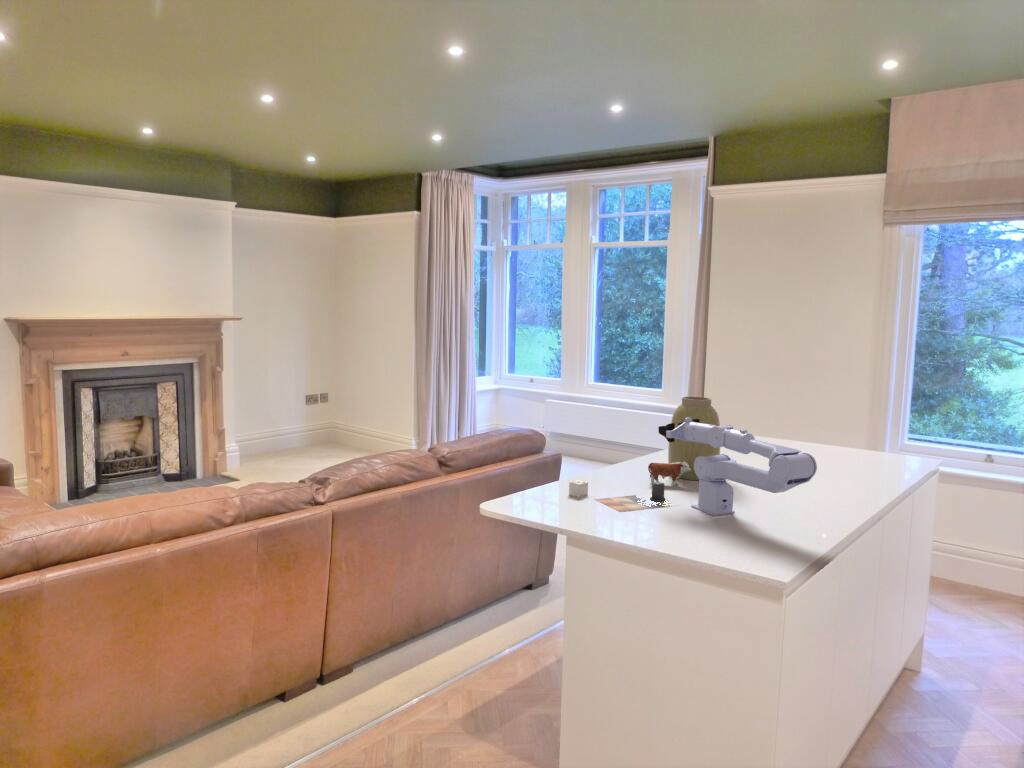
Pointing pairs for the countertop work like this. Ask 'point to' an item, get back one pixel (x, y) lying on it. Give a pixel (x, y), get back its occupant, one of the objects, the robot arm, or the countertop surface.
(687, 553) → the countertop surface
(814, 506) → the countertop surface
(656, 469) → the bull figurine
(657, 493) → the dark grey rounded knob
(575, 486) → the die
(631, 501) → the track board
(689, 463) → the vase
